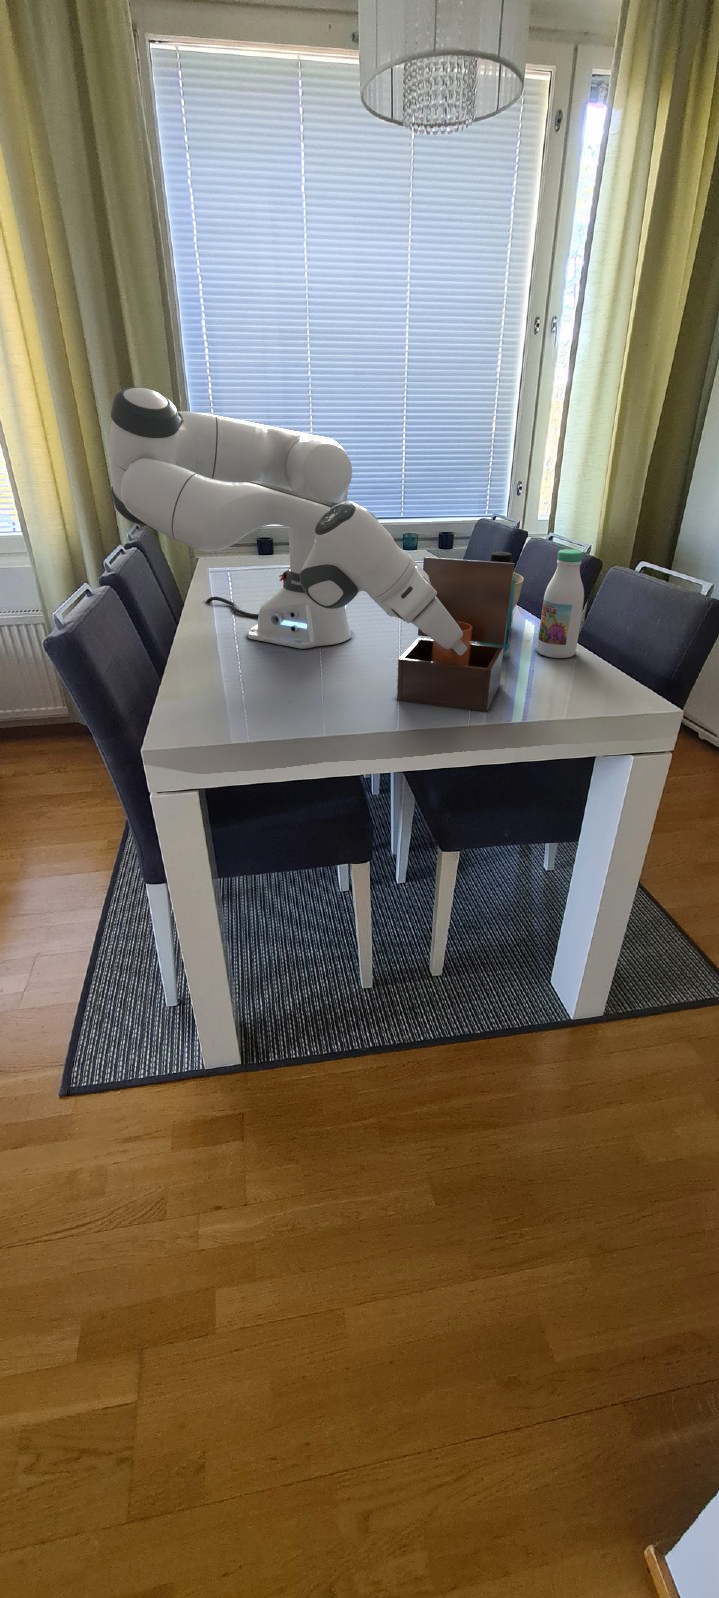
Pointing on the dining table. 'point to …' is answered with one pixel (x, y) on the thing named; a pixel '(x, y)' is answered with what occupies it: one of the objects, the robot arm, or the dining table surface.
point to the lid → (473, 594)
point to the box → (449, 677)
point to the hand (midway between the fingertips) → (455, 644)
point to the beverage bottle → (507, 558)
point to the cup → (450, 655)
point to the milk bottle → (562, 608)
